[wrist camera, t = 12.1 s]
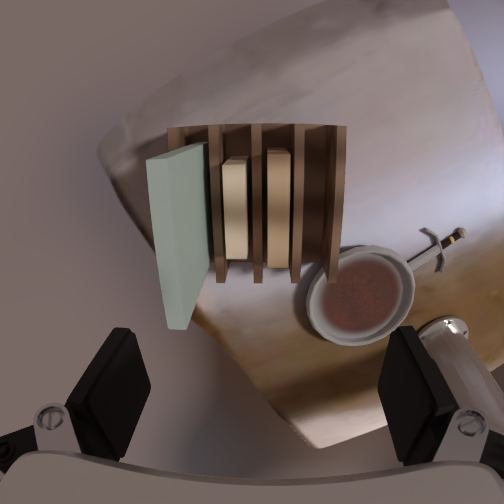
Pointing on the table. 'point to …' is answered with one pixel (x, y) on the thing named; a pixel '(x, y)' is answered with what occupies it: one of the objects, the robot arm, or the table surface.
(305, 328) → the table surface
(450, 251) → the table surface
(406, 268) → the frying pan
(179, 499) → the robot arm
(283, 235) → the offcut dark
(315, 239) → the rack
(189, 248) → the tall sheet
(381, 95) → the table surface
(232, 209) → the offcut light
